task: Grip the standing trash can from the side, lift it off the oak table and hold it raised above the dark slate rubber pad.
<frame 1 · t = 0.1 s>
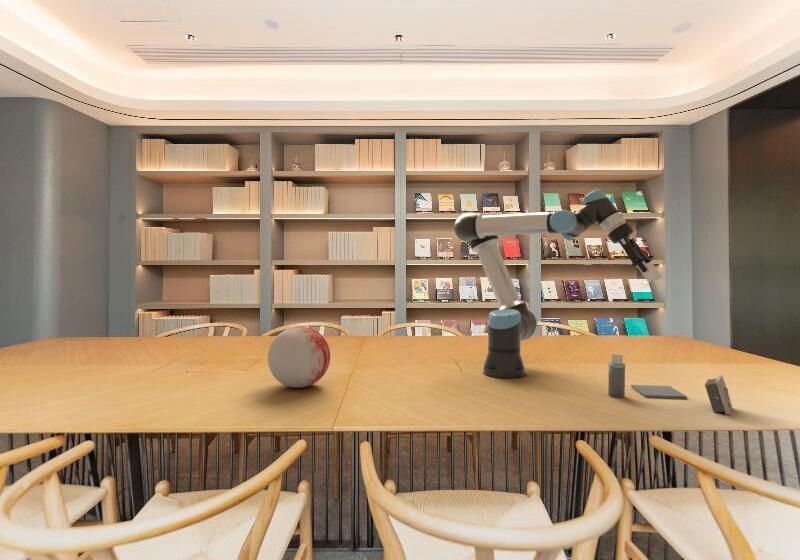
hand: (656, 279, 156), 36 cm above the table, tool tilted 35°, fingers open, 13 cm apart
decorative orb: (299, 387, 156), on the table
trash can: (616, 395, 146), on the table
pad: (657, 392, 149), on the table
electrical switch: (719, 410, 132), on the table
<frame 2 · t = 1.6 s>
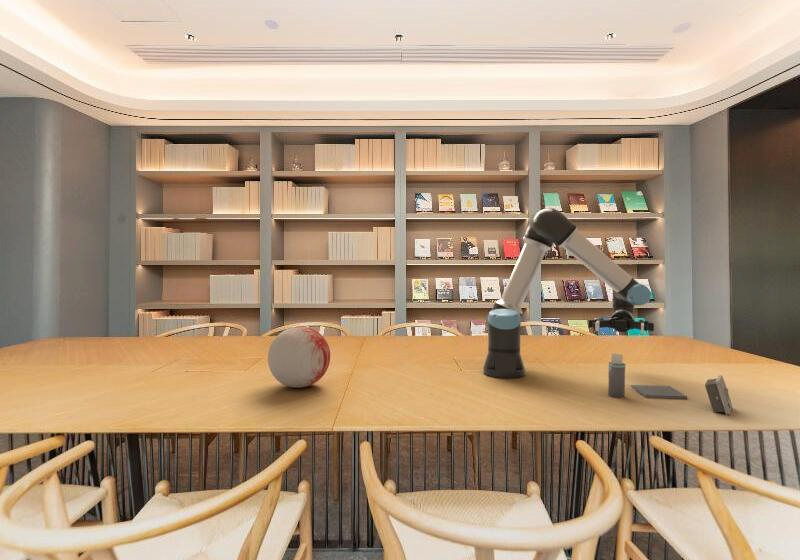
hand: (619, 328, 154), 20 cm above the table, tool horizontal, fingers open, 13 cm apart
nothing on the table moved.
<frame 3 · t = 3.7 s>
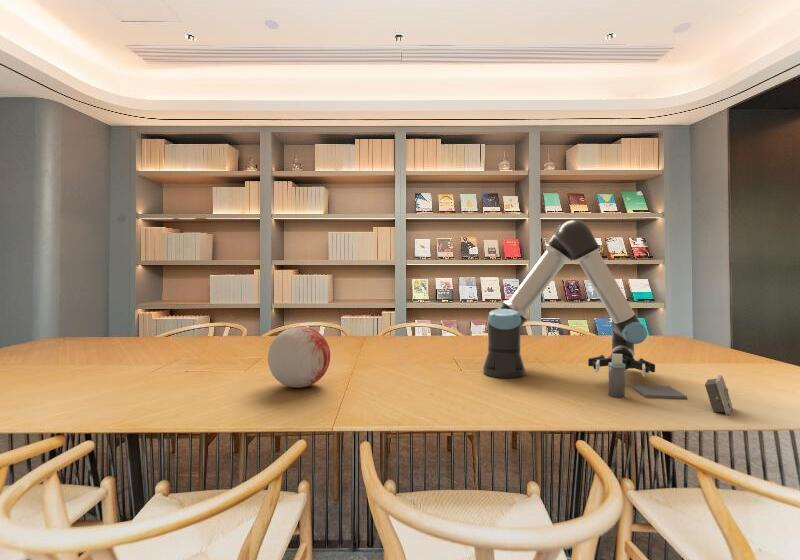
hand: (619, 370, 151), 7 cm above the table, tool horizontal, fingers open, 13 cm apart
nothing on the table moved.
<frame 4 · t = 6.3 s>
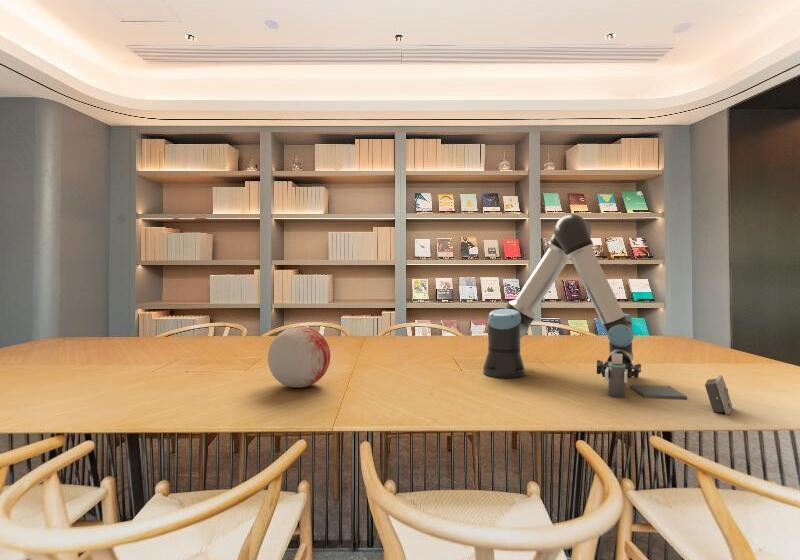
hand: (615, 376, 141), 7 cm above the table, tool horizontal, fingers closed on trash can, 4 cm apart
trash can: (616, 395, 146), on the table, touching gripper
everything else where it was.
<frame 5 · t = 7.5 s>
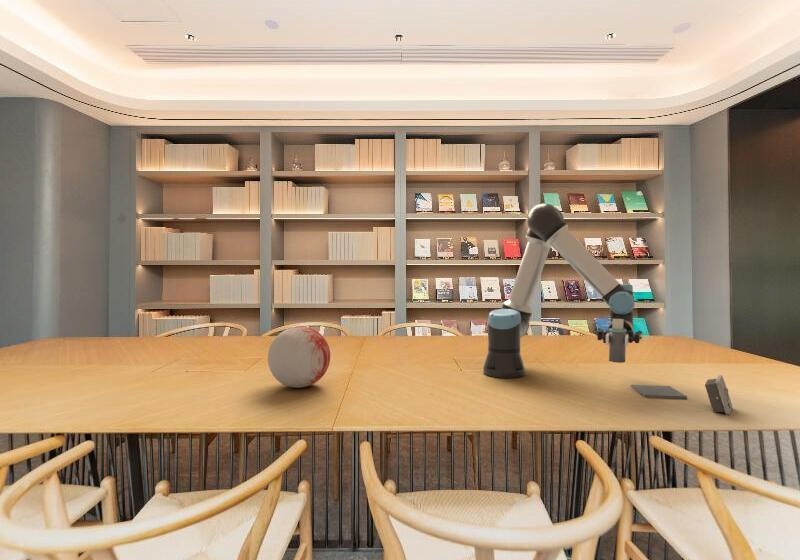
hand: (616, 341, 140), 18 cm above the table, tool horizontal, fingers closed on trash can, 4 cm apart
trash can: (617, 361, 145), point 11 cm above the table, touching gripper
everything else where it was.
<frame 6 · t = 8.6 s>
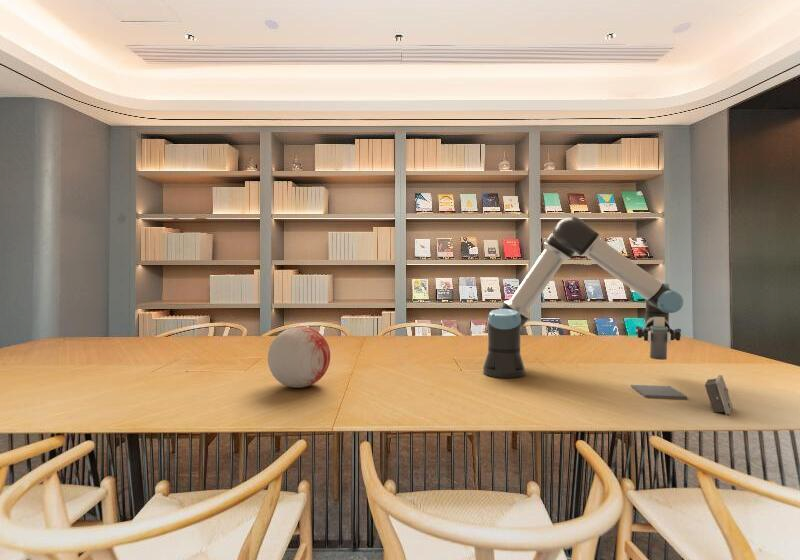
hand: (659, 338, 143), 18 cm above the table, tool horizontal, fingers closed on trash can, 4 cm apart
trash can: (658, 358, 148), point 11 cm above the table, touching gripper
everything else where it was.
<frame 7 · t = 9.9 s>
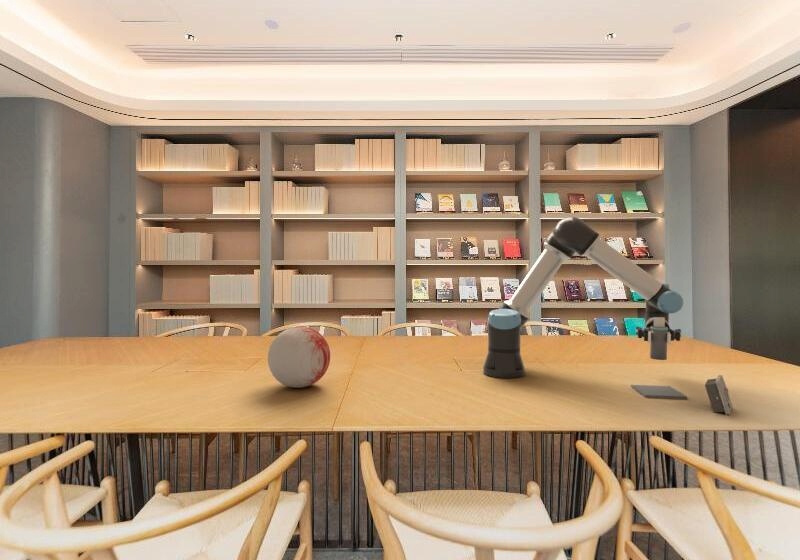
hand: (659, 338, 144), 18 cm above the table, tool horizontal, fingers closed on trash can, 4 cm apart
trash can: (658, 358, 148), point 11 cm above the table, touching gripper
everything else where it was.
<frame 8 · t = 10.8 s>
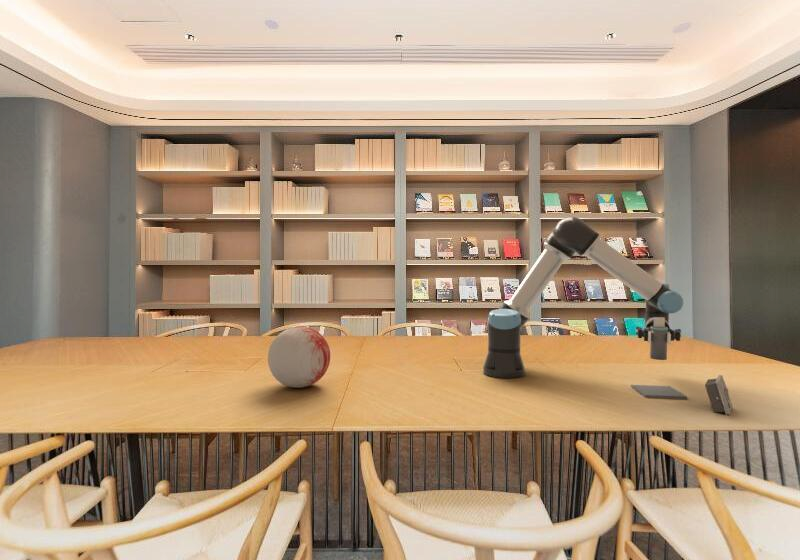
hand: (659, 338, 144), 18 cm above the table, tool horizontal, fingers closed on trash can, 4 cm apart
trash can: (658, 358, 148), point 11 cm above the table, touching gripper
everything else where it was.
at the end: the gripper is holding trash can; trash can point 11.0 cm above the table; trash can 0.0 cm from the pad (horizontally) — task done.
